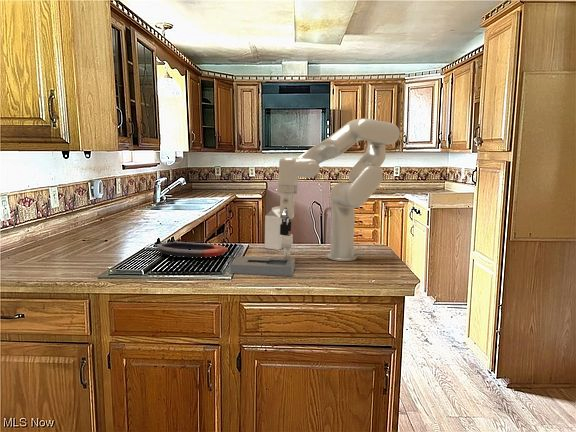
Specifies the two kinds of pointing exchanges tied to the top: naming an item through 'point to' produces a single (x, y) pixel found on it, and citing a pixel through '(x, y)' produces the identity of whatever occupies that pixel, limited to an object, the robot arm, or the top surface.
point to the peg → (287, 244)
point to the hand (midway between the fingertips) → (285, 232)
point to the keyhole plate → (263, 266)
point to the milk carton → (273, 229)
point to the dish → (198, 250)
